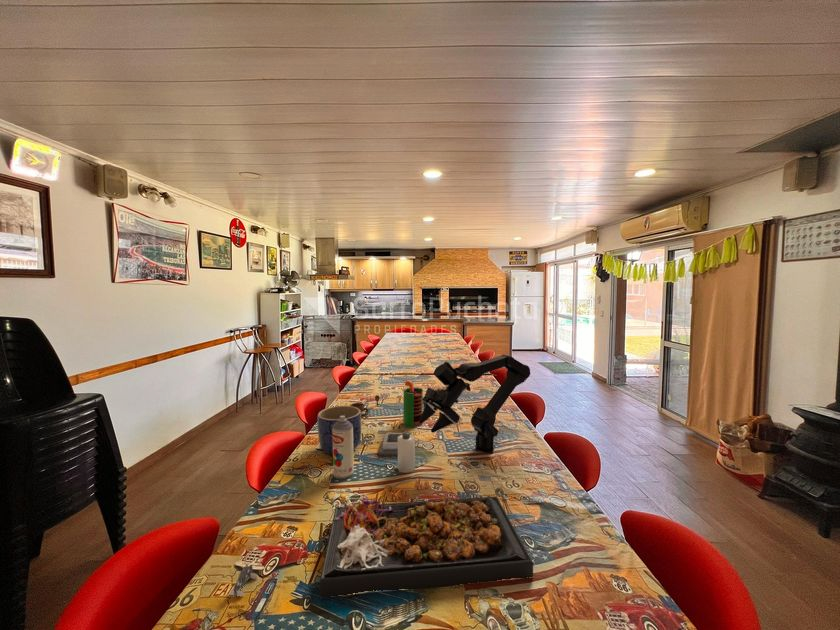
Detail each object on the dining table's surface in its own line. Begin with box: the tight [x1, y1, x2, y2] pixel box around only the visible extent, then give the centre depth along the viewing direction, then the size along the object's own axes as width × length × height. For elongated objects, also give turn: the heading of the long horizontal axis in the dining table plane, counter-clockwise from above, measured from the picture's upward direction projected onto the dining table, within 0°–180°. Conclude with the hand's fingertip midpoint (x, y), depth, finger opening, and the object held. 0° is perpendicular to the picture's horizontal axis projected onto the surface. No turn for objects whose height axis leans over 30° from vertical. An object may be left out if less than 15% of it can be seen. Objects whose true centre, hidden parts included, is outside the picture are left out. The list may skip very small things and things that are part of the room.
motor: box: [402, 380, 424, 429], centre depth 166 cm, size 10×9×20 cm
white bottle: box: [397, 431, 416, 474], centre depth 124 cm, size 6×6×13 cm
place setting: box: [349, 394, 380, 419], centre depth 183 cm, size 18×20×6 cm
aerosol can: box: [332, 416, 355, 480], centre depth 121 cm, size 7×7×20 cm
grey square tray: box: [378, 432, 413, 457], centre depth 141 cm, size 13×13×4 cm
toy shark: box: [229, 564, 258, 598], centre depth 79 cm, size 15×7×4 cm, turn 172°
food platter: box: [318, 487, 534, 598], centre depth 87 cm, size 45×25×10 cm, turn 96°
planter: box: [317, 405, 362, 456], centre depth 140 cm, size 16×16×15 cm
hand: (425, 427), depth 127 cm, fingers open, 9 cm apart
